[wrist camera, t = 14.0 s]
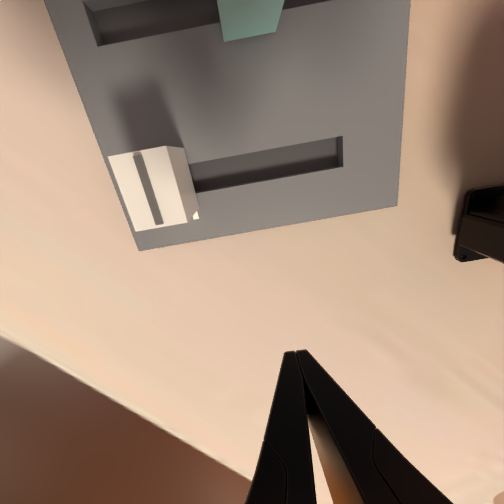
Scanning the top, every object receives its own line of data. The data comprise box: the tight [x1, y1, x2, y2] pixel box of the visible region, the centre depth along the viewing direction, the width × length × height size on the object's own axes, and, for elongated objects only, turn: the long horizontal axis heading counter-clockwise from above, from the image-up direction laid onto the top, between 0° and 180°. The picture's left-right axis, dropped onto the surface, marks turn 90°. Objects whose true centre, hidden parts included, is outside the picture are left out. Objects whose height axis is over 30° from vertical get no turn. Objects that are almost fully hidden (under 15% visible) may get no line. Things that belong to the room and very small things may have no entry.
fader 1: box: [108, 146, 199, 232], centre depth 15 cm, size 3×4×5 cm
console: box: [44, 0, 410, 251], centre depth 16 cm, size 20×18×2 cm
